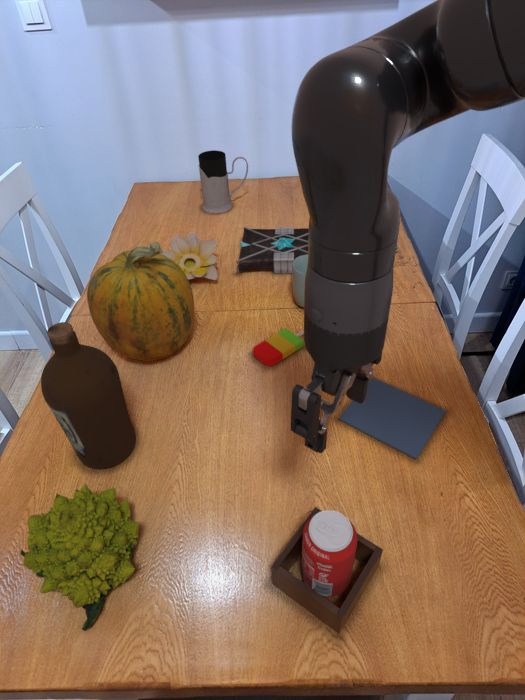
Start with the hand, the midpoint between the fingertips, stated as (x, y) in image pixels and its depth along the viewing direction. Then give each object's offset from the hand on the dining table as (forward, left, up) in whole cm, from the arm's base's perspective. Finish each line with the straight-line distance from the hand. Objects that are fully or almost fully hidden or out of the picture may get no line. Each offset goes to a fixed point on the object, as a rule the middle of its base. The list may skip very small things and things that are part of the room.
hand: (336, 422), depth 54 cm
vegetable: (+22, +23, -22) cm, 39 cm away
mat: (+1, -23, -22) cm, 32 cm away
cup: (+30, -42, -22) cm, 57 cm away
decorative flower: (+60, -35, -22) cm, 73 cm away
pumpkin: (+49, -12, -22) cm, 55 cm away
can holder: (-4, +6, -22) cm, 23 cm away
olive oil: (+36, +10, -22) cm, 44 cm away
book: (+46, -55, -22) cm, 75 cm away
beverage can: (-4, +6, -22) cm, 24 cm away
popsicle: (+26, -28, -22) cm, 45 cm away
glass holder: (+77, -69, -22) cm, 105 cm away
